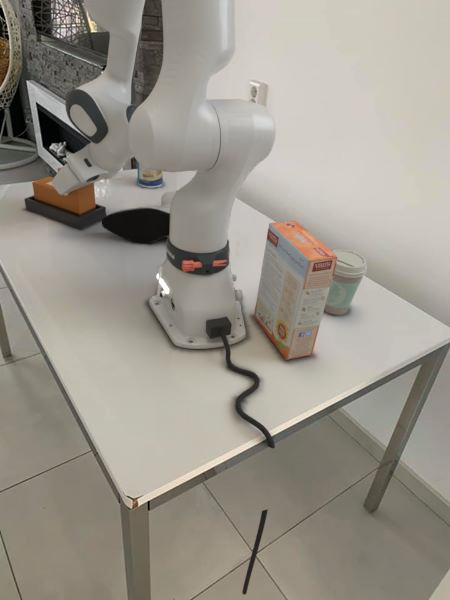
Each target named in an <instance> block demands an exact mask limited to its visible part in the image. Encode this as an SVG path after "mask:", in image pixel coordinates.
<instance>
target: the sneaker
mask: <svg viewBox="0 0 450 600" xmlns="http://www.w3.org/2000/svg"><path fill="white" fill-rule="evenodd" d="M62 167H63V166H61V167H59V168H57V173H58V172H59V171H60V169H61V168H62ZM53 179H54V177H52V176H49V175H48V176H46V177H43V178H40V179H38V180H35V181H31V184H32V190H33V191H32V192H33V195H34V197H35V198H34V201H37V202H40V203H42V204H45V205H48V206H51V207H54V208H56V209H59V210H62V211H65V212H68V213H70V214H73V215H76V216H79V217H81V216H83V215H85V214H87V213H89V212H92V211H94V210H96V204H97V203H96V194H95V193H96V191H95V183H92V184H90V185H87V186H84V187H82V188H79V189H77V190H74V191H72V193H71V194H69V195H67V196H65V195H60V194H59V193H58V192H57V191H56V189H55V188H54V186H53V184H52V181H53Z"/></svg>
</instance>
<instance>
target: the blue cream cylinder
mask: <svg viewBox="0 0 450 600" xmlns="http://www.w3.org/2000/svg"><path fill="white" fill-rule="evenodd" d="M136 161H137V160H136ZM136 163H137V165H136V166H137V177H136V178H137V184H138V185H139V186H141V187H142V188H147V189H156V188H160V187H162V185H163V184H164V175H163V174H164V173H163V172H164V171H157V170H150V169H145V168H144V167H143V166H141V165H140V164H139V162H138V161H137V162H136Z"/></svg>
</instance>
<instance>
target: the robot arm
mask: <svg viewBox="0 0 450 600" xmlns="http://www.w3.org/2000/svg"><path fill="white" fill-rule="evenodd" d="M160 1H161V2H160V3H161V12H162V14H161V15H162V37H163V38H162V39H163V40H162V41H163V44H162V46H163V47H162V48H163V53H162V62H161V68H160V71H159V75H158V77H157V80H156V82H155V85H154V87H153V89H152V90H151V92H150V93H149V95H148V96H147V97H146V99H145V100H144V101H143V102H141V104H139V105H136V103H137V95H136V86H135V78H136V77H135V76H136V68H137V62H138V56H139V52H140V51H139V50H140V45H141V37H142V30H143V13H144V9H145V8H144V7H145V3H146V0H83V5H84V8H85V10H86V12H87V14H88V15H89V17H90V18H91V19H92V21H93V22H94V23H95V24H97V25H98V26H99V27H101V28H102V29H104V30H105V31H107V32H108V33H109V42H108V50H107V59H106V60H107V61H106V67H105V68H104V70H103V71H102V73H101V74H100V75H99V76H97V77H96V78H95V79H92V80H91V81H88V82H86V83H83V84H82V85H80V86H78V87H76V88H74V89H72V90H70V91H69V92H68V94H67V95H66V98H65V112H66V115H67V116H66V117H67V118H68V120H69V122H70V123H71V124H72V125H73V126H74V127H75V129H76V130H77V131H79V132H80V134H82V135H83V136H84V137H85V138H86V139H87V140H88V141H90V143H87V144H86V145H85V146H84V147H83V148H82V149H80V150H78V151H76V152H73V153H72V154H70V155H69V156H68V157H67V158H66V162H67V163H65V164H64V165H63V166H61V167H62V168H61V167H60V168H61V169H60V171H59V172H58V171H57V173H56V174H55V176H54V177H53V178H54V179H53V181H52V184H53V186H54V188H55V189H56V191H57V192H58V193H59V194H60V195H65V196H67V195H69V194H71V193H72V191H74V190H77V189H79V188H82V187H84V186H87V185H90V184H92V183H94V184H95V183H97V182H100V181H102V180H110V179H112V178H114V177H115V176H116V175H117V173H119V172H120V171H121V170H122V169H123V168H124V167H125V166H126V163H127V162H128V161H130V160H131V159H133V158H134V159H135V160H136V161H138V162H139V164H140V165H141V166H143V167H144V168H145V169H150V170H157V171H163V172H166V173H182V172H193V171H196V172H195V174H194V175H193V177H192V178H191V179H190V180H189V181H188V182H187V183H185V184H184V185H183V186H182V187H180V188H179V189H177V190H178V191H177V192H176V193H175V194H174V196H173V198H172V200H171V203H170V232H169V236H168V237H166V238H167V239H166V243H165V249H166V258H165V260H164V261H163V262H162V263H161V264H160V265H159V266H158V273H157V274H156V279H157V287H156V288H157V292H156V294H154V295H152V296H151V297H150V298H149V300H148V305H149V306H150V308H151V310H152V312H153V313H154V315H155V317H156V318H157V320H158V321H159V323H160V324H161V326H162V327H163V329H164V331H165V332H166V334H167V336H168V337H169V339H170V340H171V342H172V343H173V345H174V346H175V347H179V348H184V349H190V350H191V349H192V350H204V349H215V348H216V349H217V348H222V347H224V350H225V362H226V363H225V364H226V365H227V366H228V368H229V369H230V370H231V371H233V372H234V373H235V372H236V373H237V374H240V375H243V376H244V375H245V376H248V377H250V378H252V379H253V380H254V383H253V384H252V386H251V387H249V388H247V389H246V390H245V391H243V392H242V393H240V394H239V395H238V396H237V398H236V399H235V403H234V407H235V410H236V413H237V414H238V416H240V418H242V419H243V420H244V421H245V422H247V423H248V424H251V425H252V426H253V427H255V428H256V429H258V430H259V431H260V432H261V433H262V434H263V436H264V438H265V439H266V442H267V445H268V447H269V448H270V449H275V448H276V445H275V442H274V438H273V437H272V434H271V433H270V431H269V430H268V429H267V427H265V426H264V425H263V424H262V423H261V422H259V421H257V420H256V419H254V418H253V417H252V416H250V415H249V414H247V413H246V412H245V411H244V410H243V408H242V406H241V404H242V402H243V400H244V399H245V398H247V397H248V396H249V395H251V394H252V393H254V392H255V391H256V390H257V389H258V388H259V386H260V381H261V379H260V376H259V375H258V374H256V373H255V372H254V371H251V370H249V369H244V368H241V367H238V366H236V365H235V364H233V362H232V360H231V359H232V358H231V355H232V351H231V347H230V346H231V345H234V344H236V343H239V342H241V341H243V340H244V339H245V338H246V337H247V331H246V326H245V320H244V316H243V310H242V307H241V302H242V301H243V290H242V289H236V288H235V285H234V282H237V274H233V271H232V266H231V265H232V261H231V260H230V254H231V253H230V252H231V250H230V249H231V248H230V241H229V238H228V237H229V229H230V222H231V216H232V210H233V206H234V203H235V200H236V197H237V196H238V193H239V191H240V189H241V188H242V186H243V184H244V183H245V181H246V179H247V178H248V176H249V175H250V174H251V173H252V171H253V170H254V169H255V168H256V167H257V166H258V165H259V164H260V163H261V162H263V161H264V160H265V159H267V158H268V156H269V155H270V154H271V152H272V151H273V149H274V145H275V142H276V137H277V136H276V134H277V133H276V123H275V120H274V117H273V115H272V113H271V111H270V110H269V109H268V107H267V106H266V105H264V104H261V103H257V102H253V101H250V100H244V99H241V98H232V99H231V98H229V99H227V98H225V99H224V98H223V99H221V98H220V99H217V98H215V99H213V98H212V99H207V88H208V84H209V81H210V80H211V77H213V76H214V75H216V74H217V73H219V72H220V71H222V70H223V69H225V68H226V67H227V66H228V65H229V64H230V63H231V61H232V59H233V58H234V54H235V52H236V48H237V47H236V16H235V14H236V12H235V11H236V10H235V0H160ZM268 511H269V509H263V510H261V515H260V520H259V524H258V528H257V533H256V536H255V540H254V544H253V547H252V548H253V549H252V552H251V556H250V559H249V562H248V566H247V570H246V574H245V578H244V582H243V585H242V586H243V587H242V591H241V592H242V595H243V596H245V595H247V593H248V588H249V585H250V581H251V576H252V573H253V569H254V565H255V562H256V559H257V555H258V551H259V547H260V544H261V541H262V537H263V533H264V529H265V524H266V520H267V517H268Z"/></svg>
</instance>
